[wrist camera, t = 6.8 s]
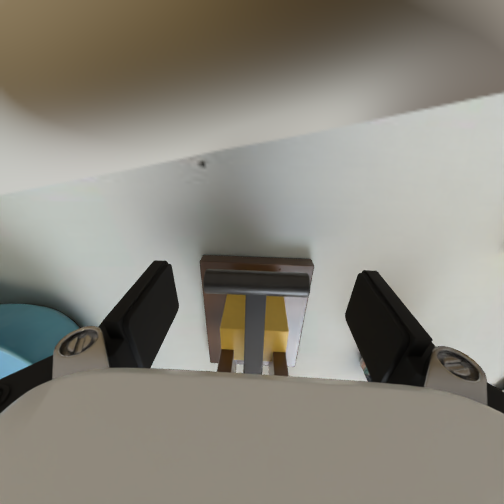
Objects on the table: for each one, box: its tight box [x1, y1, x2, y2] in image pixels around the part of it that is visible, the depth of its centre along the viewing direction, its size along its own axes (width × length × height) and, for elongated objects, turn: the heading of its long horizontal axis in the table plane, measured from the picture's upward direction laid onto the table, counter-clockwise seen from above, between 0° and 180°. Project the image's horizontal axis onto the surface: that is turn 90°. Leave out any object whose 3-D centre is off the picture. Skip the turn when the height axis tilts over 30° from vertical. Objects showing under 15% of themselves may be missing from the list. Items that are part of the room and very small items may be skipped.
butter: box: [220, 294, 289, 362], centre depth 19 cm, size 4×5×5 cm
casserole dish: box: [0, 304, 79, 379], centre depth 27 cm, size 37×22×7 cm, turn 7°
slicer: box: [200, 255, 314, 376], centre depth 18 cm, size 14×10×12 cm
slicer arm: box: [203, 269, 310, 375], centre depth 13 cm, size 12×6×2 cm, turn 178°
